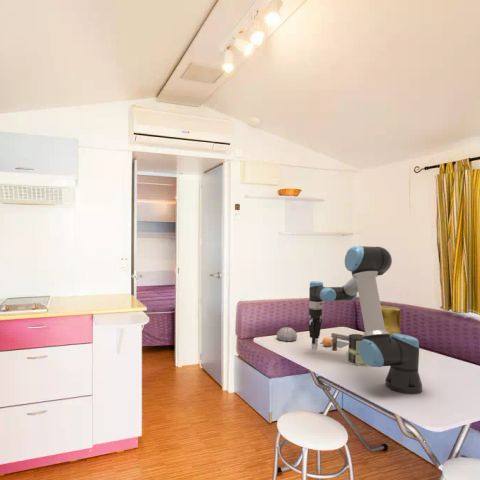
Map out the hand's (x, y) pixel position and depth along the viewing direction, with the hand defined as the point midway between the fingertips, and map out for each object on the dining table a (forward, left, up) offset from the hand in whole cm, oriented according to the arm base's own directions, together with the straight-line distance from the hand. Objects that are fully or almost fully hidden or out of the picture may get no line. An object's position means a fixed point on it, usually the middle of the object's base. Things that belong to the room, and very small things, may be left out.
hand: (314, 349), depth 223 cm
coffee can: (0, -26, -2) cm, 26 cm away
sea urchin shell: (+13, +27, -2) cm, 30 cm away
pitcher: (+43, -27, -2) cm, 51 cm away
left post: (+13, +6, -2) cm, 15 cm away
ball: (+17, +1, +1) cm, 17 cm away
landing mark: (+27, 0, -2) cm, 27 cm away
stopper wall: (+41, 0, -2) cm, 41 cm away
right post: (+13, -6, -2) cm, 15 cm away
